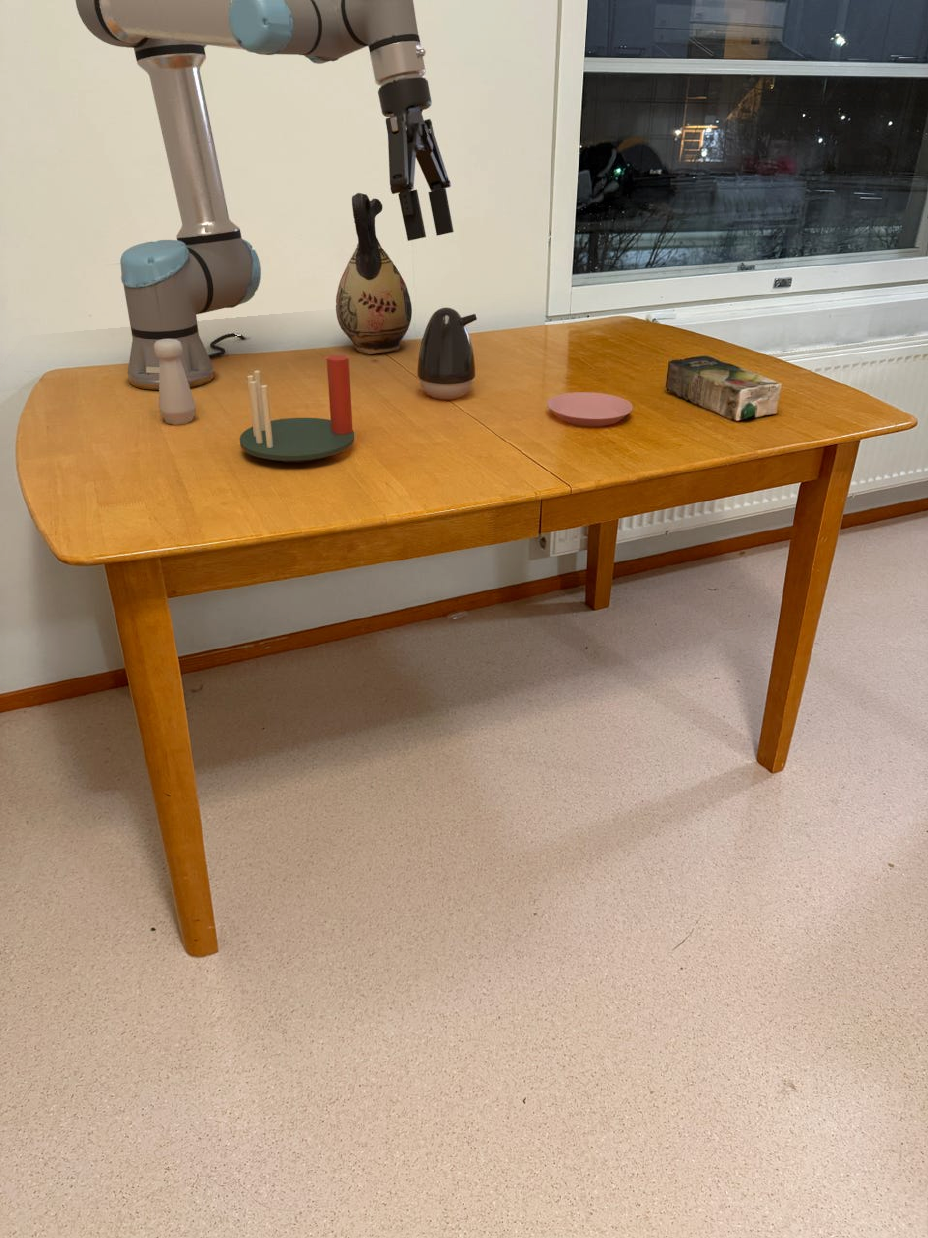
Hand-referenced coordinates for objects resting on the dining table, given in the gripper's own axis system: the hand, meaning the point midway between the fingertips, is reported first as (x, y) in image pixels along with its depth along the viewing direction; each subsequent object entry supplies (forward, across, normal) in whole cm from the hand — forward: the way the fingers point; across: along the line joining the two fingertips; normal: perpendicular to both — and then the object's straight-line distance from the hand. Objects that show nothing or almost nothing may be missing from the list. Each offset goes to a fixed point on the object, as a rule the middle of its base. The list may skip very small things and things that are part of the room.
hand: (431, 236), depth 142 cm
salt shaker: (+20, -16, +44) cm, 50 cm away
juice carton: (+36, +22, -39) cm, 58 cm away
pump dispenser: (+26, +11, +7) cm, 29 cm away
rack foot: (+26, -23, +20) cm, 39 cm away
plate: (+33, +8, -19) cm, 38 cm away
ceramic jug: (+19, +37, +30) cm, 51 cm away
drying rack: (+26, -23, +20) cm, 39 cm away
